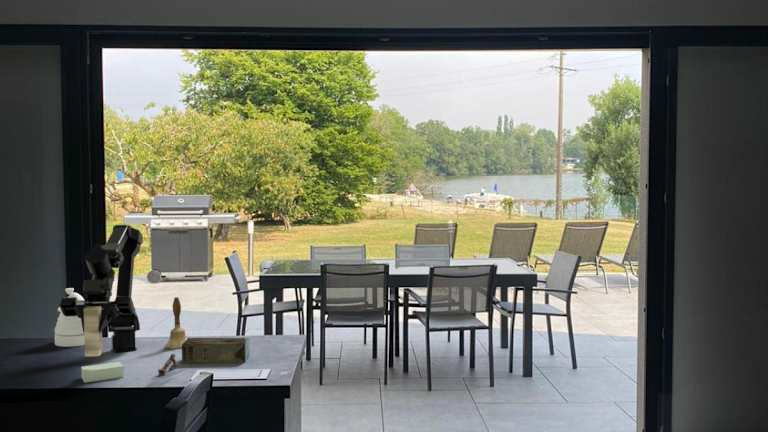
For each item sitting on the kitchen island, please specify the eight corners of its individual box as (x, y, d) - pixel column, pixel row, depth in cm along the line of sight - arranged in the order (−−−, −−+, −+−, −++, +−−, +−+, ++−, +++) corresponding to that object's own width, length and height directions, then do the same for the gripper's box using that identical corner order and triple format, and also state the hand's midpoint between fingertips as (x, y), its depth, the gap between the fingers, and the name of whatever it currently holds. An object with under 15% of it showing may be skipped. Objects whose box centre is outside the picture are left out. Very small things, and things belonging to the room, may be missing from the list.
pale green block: (120, 372, 197) (119, 361, 196) (123, 377, 192) (123, 366, 192) (81, 377, 191) (81, 366, 191) (84, 382, 187) (84, 371, 187)
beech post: (89, 353, 192) (87, 306, 191) (102, 352, 192) (101, 306, 192) (85, 356, 188) (83, 308, 188) (98, 356, 189) (97, 308, 188)
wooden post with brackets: (180, 364, 202) (176, 351, 200) (167, 382, 195) (163, 369, 193) (174, 363, 202) (171, 351, 200) (161, 382, 195) (157, 369, 193)
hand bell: (161, 349, 223) (160, 299, 223) (169, 343, 232) (168, 295, 231) (187, 349, 224) (186, 299, 223) (194, 342, 232) (193, 295, 231)
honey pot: (46, 345, 230) (44, 291, 229) (73, 336, 242) (71, 285, 241) (79, 347, 226) (77, 292, 225) (104, 338, 239) (103, 286, 238)
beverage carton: (246, 363, 206) (245, 341, 206) (180, 364, 205) (180, 342, 205) (250, 356, 214) (249, 335, 214) (187, 357, 213) (186, 336, 213)
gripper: (60, 268, 192) (47, 316, 181) (130, 267, 194) (121, 314, 184) (70, 292, 200) (58, 339, 190) (137, 290, 202) (129, 336, 192)
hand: (91, 331), depth 189 cm, fingers closed on beech post, 4 cm apart
